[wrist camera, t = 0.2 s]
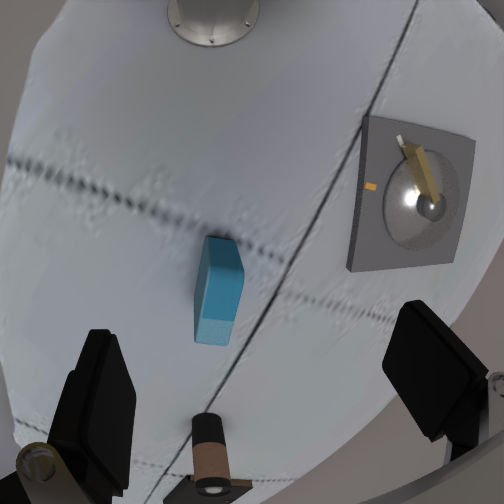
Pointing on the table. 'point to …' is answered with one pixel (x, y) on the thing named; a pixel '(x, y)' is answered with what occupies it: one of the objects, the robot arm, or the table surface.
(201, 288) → the data package
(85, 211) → the table surface
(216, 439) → the travel mug
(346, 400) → the table surface
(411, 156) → the capstan dial
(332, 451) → the table surface
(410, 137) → the dial base
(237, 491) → the dark notebook
